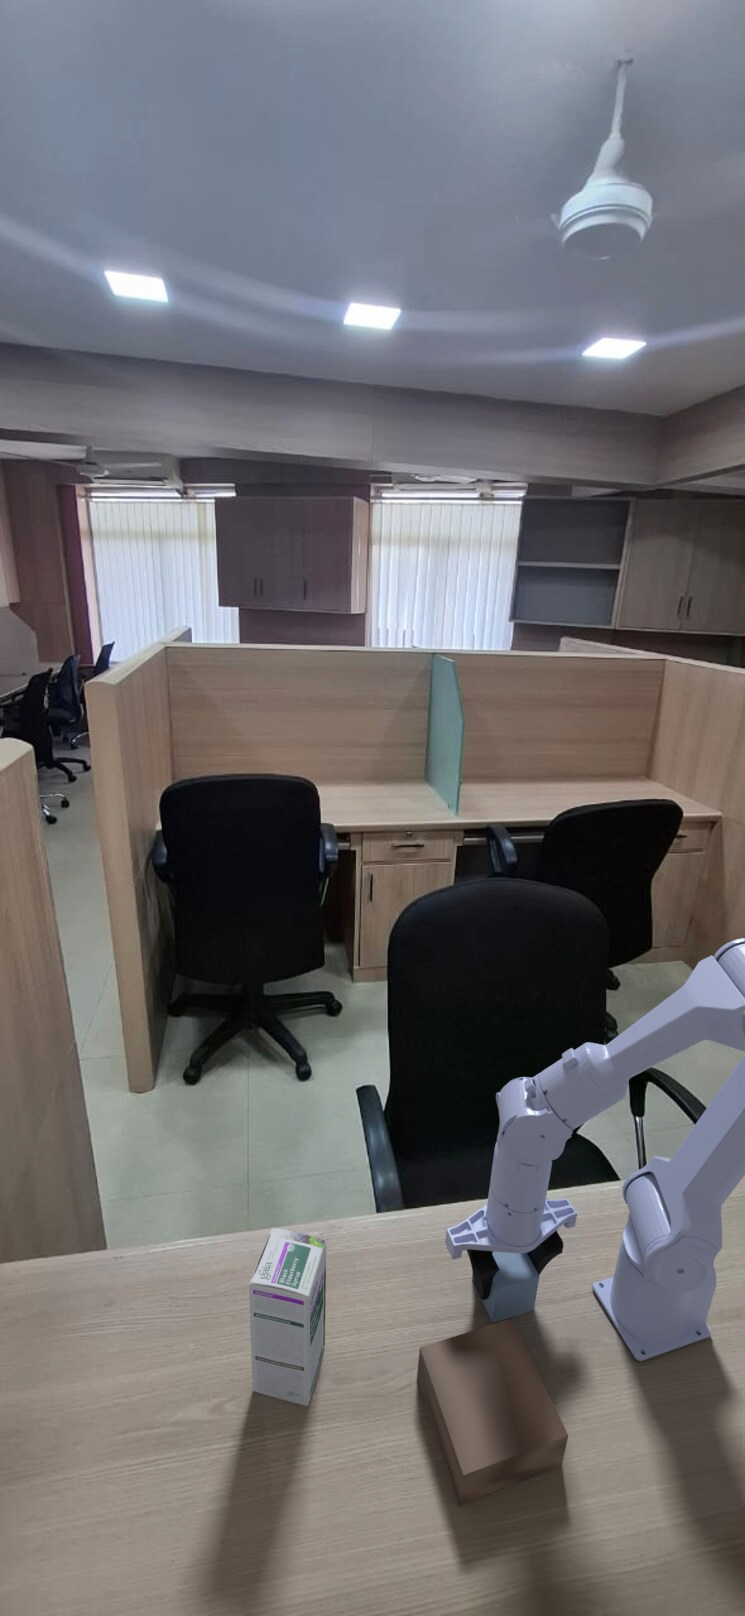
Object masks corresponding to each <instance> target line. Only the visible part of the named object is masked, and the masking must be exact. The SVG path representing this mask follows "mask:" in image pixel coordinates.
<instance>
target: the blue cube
mask: <svg viewBox="0 0 745 1616" xmlns="http://www.w3.org/2000/svg"><path fill="white" fill-rule="evenodd" d="M492 1255H493V1257H494V1259H495V1261H496V1263H497V1265H498V1267H499V1269H500V1270H499V1271H498V1272H497V1273H496V1274H495V1276H494V1278H493V1280H492V1283H491V1289H490V1294H489V1297H488V1299H486V1300H481V1302H482V1304H483V1306H484V1307H485V1310H486V1313H487V1314H488V1316H490V1317H489V1319H490V1321H491V1323H492V1324H493V1323H498V1322H499V1320H500V1321H502V1320H506V1319H510V1318H512V1317H515V1316H516V1317H517V1316H520V1315H522V1314H525V1313H528V1312H532V1311H535V1305H536V1299H537V1292H538V1287H539V1281H540V1275H539V1274H538V1273H537V1271H536V1269H535V1267H534V1265H533V1263H532V1262H531V1260H530V1258H529V1256H528V1254H527V1253H507V1252H496V1251H493V1254H492ZM471 1279H472V1281H473V1282H474V1279H473V1272H472V1274H471Z"/></svg>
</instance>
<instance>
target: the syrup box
mask: <svg viewBox="0 0 745 1616" xmlns="http://www.w3.org/2000/svg"><path fill="white" fill-rule="evenodd" d="M326 1281H327V1241H326V1239H323V1238H320V1237H317V1236H312V1235H310V1234H306V1233H302V1232H297V1231H293V1230H287V1229H281V1228H280V1229H279V1228H275V1227H271V1230H270V1232H269V1234H268V1237H267V1240H266V1241H265V1244H264V1247H263V1249H262V1251H261V1253H260V1254H259V1258H258V1260H257V1262H256V1265H255V1268H254V1270H253V1273H252V1275H251V1279H250V1281H249V1283H248V1288H249V1289H248V1291H249V1294H248V1295H249V1317H250V1318H249V1319H250V1321H249V1322H250V1323H249V1325H250V1326H249V1327H250V1346H251V1347H250V1348H251V1352H250V1353H251V1373H252V1375H251V1381H252V1383H251V1384H252V1391H253V1392H255V1393H259V1394H262V1395H265V1396H268V1397H270V1398H271V1397H272V1398H274V1399H275V1398H276V1399H279V1400H282V1401H284V1402H285V1401H286V1402H290V1403H293V1404H297V1405H299V1406H305V1407H308V1406H309V1405H310V1401H311V1397H312V1396H313V1395H312V1394H313V1391H314V1387H315V1385H316V1381H317V1378H318V1374H319V1369H320V1366H321V1362H322V1358H323V1354H324V1350H325V1346H326V1302H327V1301H326V1300H327V1298H326V1297H327V1295H326V1293H327V1291H326V1290H327V1286H326V1285H327V1282H326Z"/></svg>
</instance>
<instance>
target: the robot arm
mask: <svg viewBox="0 0 745 1616" xmlns="http://www.w3.org/2000/svg"><path fill="white" fill-rule="evenodd" d="M703 1041H710V1042H714V1043H717V1044H720V1045H723V1046H726V1047H729V1048H733V1049H735V1050H739V1051H742V1052H745V937H742V938H737V939H734V940H732V941H729V942H727V943H725V944H724V945H723V946H721V947H720V948H719V949H718V950H717V951H716V952H715V954H714V955H710V956H708V957H706V958H703V959H702V960H700V961H699V962H698V963H697V964H696V966H695V967H694V969H693V970H692V972H691V974H690V975H689V977H688V978H687V980H686V982H685V983H684V984H683V986H681V987H680V988H679V989H677V990H676V991H674V993H672V994H670V995H669V996H668V997H667V998H665V999H664V1000H663V1001H661V1003H659V1004H658V1005H656V1006H655V1007H653V1009H651V1010H650V1011H649V1012H647V1013H646V1014H645V1015H644V1016H642V1017H641V1018H639V1019H638V1020H637V1021H636V1022H634V1023H633V1024H631V1026H629V1027H628V1028H627V1029H625V1030H624V1031H623V1032H621V1033H620V1034H619V1035H617V1036H615V1038H613V1039H612V1040H611V1041H610V1042H608V1043H607V1044H600V1043H595V1042H585V1043H582V1045H580V1046H578V1047H577V1048H576V1049H574V1048H573V1047H571V1048H569V1049H567V1050H565V1051H564V1052H562V1054H561V1057H562V1058H560V1059H559V1060H557V1061H556V1062H554V1063H553V1064H551V1065H550V1066H547V1068H544V1069H543V1070H542V1071H540V1072H539V1073H538V1074H535V1076H533V1077H529V1076H527V1077H526V1076H522V1077H517V1078H512V1079H511V1080H509V1082H507V1084H505V1085H504V1086H503V1087H502V1088H501V1089H500V1091H499V1092H496V1094H495V1101H496V1106H497V1109H498V1117H499V1125H498V1132H497V1137H496V1142H495V1146H494V1151H493V1157H492V1158H493V1159H492V1167H491V1174H490V1180H489V1181H490V1182H489V1190H488V1194H487V1195H488V1196H487V1197H488V1198H487V1203H486V1204H485V1205H483V1206H482V1207H481V1208H479V1209H477V1211H475V1212H474V1213H472V1214H471V1215H470V1216H468V1217H467V1218H466V1219H464V1220H463V1221H462V1222H460V1223H457V1225H454V1226H452V1227H448V1228H446V1231H445V1232H446V1233H445V1239H444V1243H445V1246H446V1248H447V1250H448V1253H449V1255H450V1257H451V1259H452V1261H453V1260H457V1259H460V1258H462V1257H463V1256H462V1255H463V1252H464V1251H466V1252H467V1255H468V1257H469V1261H470V1265H471V1271H472V1273H473V1279H474V1281H473V1285H474V1287H475V1290H476V1292H477V1293H478V1296H479V1298H480V1301H482V1300H486V1299H488V1297H489V1294H490V1289H491V1283H492V1280H493V1278H494V1276H495V1274H496V1273H497V1272H498V1271H499V1270H500V1269H499V1267H498V1265H497V1263H496V1261H495V1259H494V1257H493V1255H492V1254H493V1251H496V1252H507V1253H527V1254H528V1256H529V1258H530V1260H531V1262H532V1263H533V1265H534V1267H535V1269H536V1271H537V1273H538V1274H539V1276H540V1275H541V1274H542V1272H543V1271H544V1269H545V1267H547V1265H548V1264H549V1263H550V1262H551V1261H552V1260H554V1258H556V1257H557V1256H558V1255H561V1254H562V1253H563V1250H564V1241H563V1239H562V1238H561V1236H560V1234H559V1232H558V1230H559V1229H560V1228H561V1227H562V1226H564V1228H567V1229H571V1228H574V1227H575V1228H576V1221H577V1217H578V1212H577V1211H576V1210H575V1209H576V1208H575V1207H574V1206H573V1204H572V1203H571V1202H570V1200H569V1198H567V1197H566V1198H561V1199H547V1194H548V1189H549V1182H550V1178H551V1171H552V1165H553V1162H552V1161H554V1160H557V1159H559V1157H560V1156H561V1155H562V1154H563V1152H564V1150H565V1146H566V1142H567V1141H568V1140H569V1139H571V1138H572V1134H573V1131H574V1130H575V1129H576V1128H579V1127H580V1126H582V1125H584V1124H585V1123H586V1122H588V1121H590V1120H592V1119H593V1118H595V1117H597V1116H598V1115H600V1114H601V1113H603V1112H604V1111H607V1110H608V1109H609V1108H611V1107H613V1106H614V1105H616V1104H617V1103H619V1102H621V1101H622V1100H624V1099H625V1098H626V1095H627V1091H628V1085H629V1081H630V1079H631V1078H633V1077H635V1076H637V1075H639V1074H641V1073H643V1072H646V1070H648V1069H650V1068H651V1069H652V1067H655V1066H656V1065H659V1064H661V1063H662V1062H665V1061H666V1060H668V1059H670V1058H671V1057H674V1056H676V1055H678V1054H679V1053H682V1052H685V1050H687V1049H690V1048H691V1047H693V1046H695V1045H698V1044H699V1043H701V1042H703ZM744 1177H745V1054H744V1055H743V1057H742V1058H741V1059H740V1061H739V1063H738V1064H737V1065H736V1067H735V1068H734V1069H733V1071H732V1072H731V1074H730V1075H729V1076H728V1078H727V1079H726V1081H725V1082H724V1083H723V1085H722V1086H721V1087H720V1089H719V1091H717V1093H716V1094H715V1096H714V1097H713V1099H712V1101H711V1102H710V1103H709V1105H708V1106H707V1108H706V1109H705V1110H704V1111H703V1113H702V1115H701V1116H700V1118H699V1119H698V1120H697V1122H696V1123H695V1125H694V1126H693V1127H692V1129H691V1131H690V1132H689V1133H688V1134H687V1136H686V1137H685V1138H684V1139H683V1141H682V1142H681V1144H680V1146H679V1147H678V1148H677V1150H676V1152H675V1153H674V1154H673V1156H672V1157H671V1158H669V1157H665V1156H664V1157H663V1156H658V1155H655V1156H654V1155H653V1156H652V1157H651V1158H650V1159H649V1161H648V1162H647V1163H646V1164H645V1165H644V1167H642V1168H640V1169H638V1170H636V1171H635V1172H633V1173H632V1174H629V1176H628V1177H627V1178H626V1179H625V1181H623V1185H622V1196H623V1200H624V1202H625V1204H626V1205H627V1209H628V1211H629V1212H628V1216H627V1222H626V1224H625V1226H624V1230H623V1233H622V1239H621V1242H620V1245H619V1251H618V1255H617V1261H616V1265H615V1269H614V1273H613V1276H612V1277H609V1278H605V1279H602V1280H599V1281H595V1282H593V1283H592V1285H591V1286H592V1290H593V1292H594V1293H595V1295H596V1297H597V1299H598V1300H599V1301H600V1302H599V1303H601V1305H602V1307H603V1308H604V1310H605V1312H606V1314H608V1316H609V1318H610V1319H611V1321H612V1322H613V1325H614V1326H615V1328H616V1330H617V1331H618V1333H619V1334H620V1336H621V1338H622V1339H623V1341H624V1342H625V1344H626V1346H627V1347H628V1350H629V1351H630V1353H632V1356H633V1357H634V1358H635V1360H637V1361H639V1362H643V1361H645V1360H649V1359H651V1358H655V1357H657V1356H660V1355H663V1354H666V1353H667V1352H670V1351H674V1350H677V1349H680V1348H682V1347H685V1346H687V1345H690V1344H691V1345H692V1344H694V1343H696V1342H699V1341H702V1340H705V1339H708V1338H710V1337H711V1335H712V1330H711V1328H710V1327H709V1325H707V1323H706V1322H707V1319H708V1316H709V1313H710V1308H711V1306H712V1305H711V1304H712V1301H713V1297H714V1294H715V1292H716V1288H717V1274H716V1268H715V1264H714V1263H715V1259H716V1257H717V1255H719V1254H718V1253H720V1251H721V1250H722V1248H723V1225H722V1222H723V1221H722V1206H723V1204H724V1203H725V1202H726V1200H727V1199H728V1197H729V1196H730V1195H731V1193H732V1192H733V1191H734V1190H735V1189H736V1187H737V1186H738V1185H739V1184H740V1182H741V1181H742V1180H743V1178H744ZM473 1279H472V1280H473ZM643 1353H644V1354H643Z"/></svg>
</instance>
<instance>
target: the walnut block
mask: <svg viewBox="0 0 745 1616" xmlns="http://www.w3.org/2000/svg"><path fill="white" fill-rule="evenodd" d="M418 1351H419V1352H418V1353H419V1354H418V1361H417V1362H418V1364H417V1370H416V1371H417V1374H416V1376H417V1380H418V1383H419V1387H420V1388H421V1392H422V1396H423V1398H424V1401H425V1405H426V1407H427V1411H428V1415H429V1417H430V1420H431V1423H432V1426H433V1429H434V1432H435V1433H434V1434H435V1435H436V1438H437V1441H438V1445H439V1448H440V1451H441V1454H442V1457H443V1460H444V1463H445V1466H446V1469H447V1472H448V1475H449V1479H450V1481H451V1482H450V1483H451V1485H452V1488H453V1491H454V1494H455V1497H456V1501H457V1503H458V1506H461V1505H464V1504H466V1503H469V1502H472V1501H474V1500H477V1499H479V1498H481V1497H484V1496H487V1495H489V1494H492V1493H495V1492H498V1491H499V1490H502V1489H505V1488H507V1487H510V1486H512V1485H515V1484H517V1483H520V1482H522V1481H524V1480H525V1481H526V1480H527V1479H530V1478H532V1477H535V1476H537V1475H538V1476H539V1475H541V1474H542V1473H545V1472H548V1471H551V1470H553V1469H555V1468H558V1467H560V1466H562V1465H563V1461H564V1456H565V1454H566V1453H565V1452H566V1447H567V1443H568V1438H569V1434H568V1432H567V1429H566V1428H565V1426H564V1424H563V1422H562V1420H561V1417H560V1415H559V1414H558V1411H557V1409H556V1407H555V1405H554V1403H553V1401H552V1398H551V1397H550V1394H549V1393H548V1390H547V1388H546V1386H545V1384H544V1382H543V1380H542V1377H541V1375H540V1374H539V1372H538V1370H537V1367H536V1365H535V1363H534V1361H533V1359H532V1356H531V1355H530V1353H529V1351H528V1349H527V1346H526V1344H525V1341H524V1340H523V1337H522V1335H521V1334H520V1332H519V1329H518V1328H517V1325H516V1323H515V1321H514V1319H513V1318H508V1319H507V1320H506V1319H505V1320H504V1321H500V1322H495V1323H494V1324H493V1323H492V1324H491V1325H487V1326H483V1327H481V1328H477V1329H474V1330H471V1331H468V1332H464V1333H461V1334H458V1335H455V1336H452V1337H448V1338H444V1339H442V1340H438V1341H435V1342H432V1343H429V1344H426V1345H423V1346H420V1347H419V1350H418Z"/></svg>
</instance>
